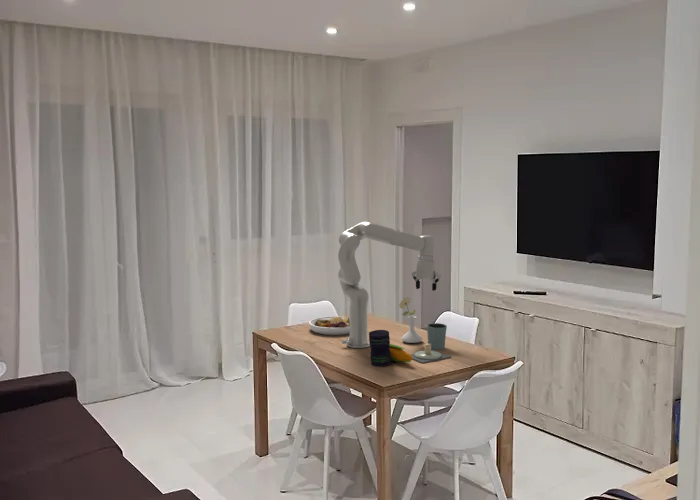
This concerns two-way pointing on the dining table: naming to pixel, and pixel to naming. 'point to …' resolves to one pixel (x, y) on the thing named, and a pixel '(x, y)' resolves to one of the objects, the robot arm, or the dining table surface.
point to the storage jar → (380, 347)
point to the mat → (429, 360)
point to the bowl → (330, 325)
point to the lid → (427, 353)
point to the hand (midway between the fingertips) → (426, 289)
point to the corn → (399, 354)
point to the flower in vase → (411, 334)
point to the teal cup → (436, 335)
